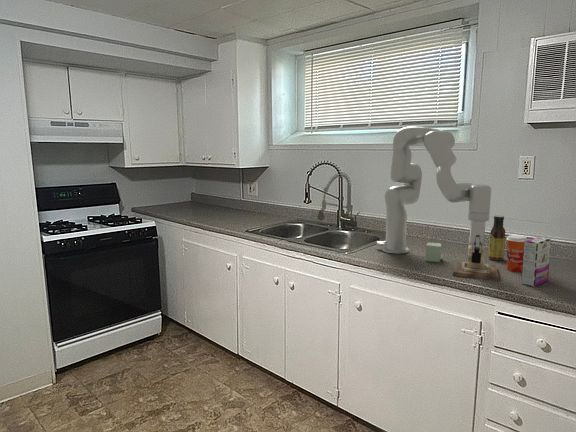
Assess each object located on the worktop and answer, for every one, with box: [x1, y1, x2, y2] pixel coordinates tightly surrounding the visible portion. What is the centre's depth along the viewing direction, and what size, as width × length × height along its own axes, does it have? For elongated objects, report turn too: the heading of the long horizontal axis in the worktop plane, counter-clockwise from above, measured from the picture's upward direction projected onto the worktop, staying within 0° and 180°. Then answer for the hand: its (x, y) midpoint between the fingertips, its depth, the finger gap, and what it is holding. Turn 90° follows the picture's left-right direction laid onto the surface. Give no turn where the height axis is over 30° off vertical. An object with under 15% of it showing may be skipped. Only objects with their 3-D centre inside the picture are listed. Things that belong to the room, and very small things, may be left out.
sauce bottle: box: [488, 214, 507, 262], centre depth 185 cm, size 6×6×20 cm
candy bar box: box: [521, 236, 552, 287], centre depth 154 cm, size 11×5×16 cm, turn 126°
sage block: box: [424, 242, 442, 263], centre depth 187 cm, size 6×6×7 cm
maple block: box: [466, 244, 486, 267], centre depth 167 cm, size 6×6×7 cm
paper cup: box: [505, 234, 528, 273], centre depth 169 cm, size 8×8×14 cm
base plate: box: [452, 261, 500, 281], centre depth 168 cm, size 16×16×2 cm
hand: (475, 260), depth 167 cm, fingers closed on maple block, 5 cm apart
